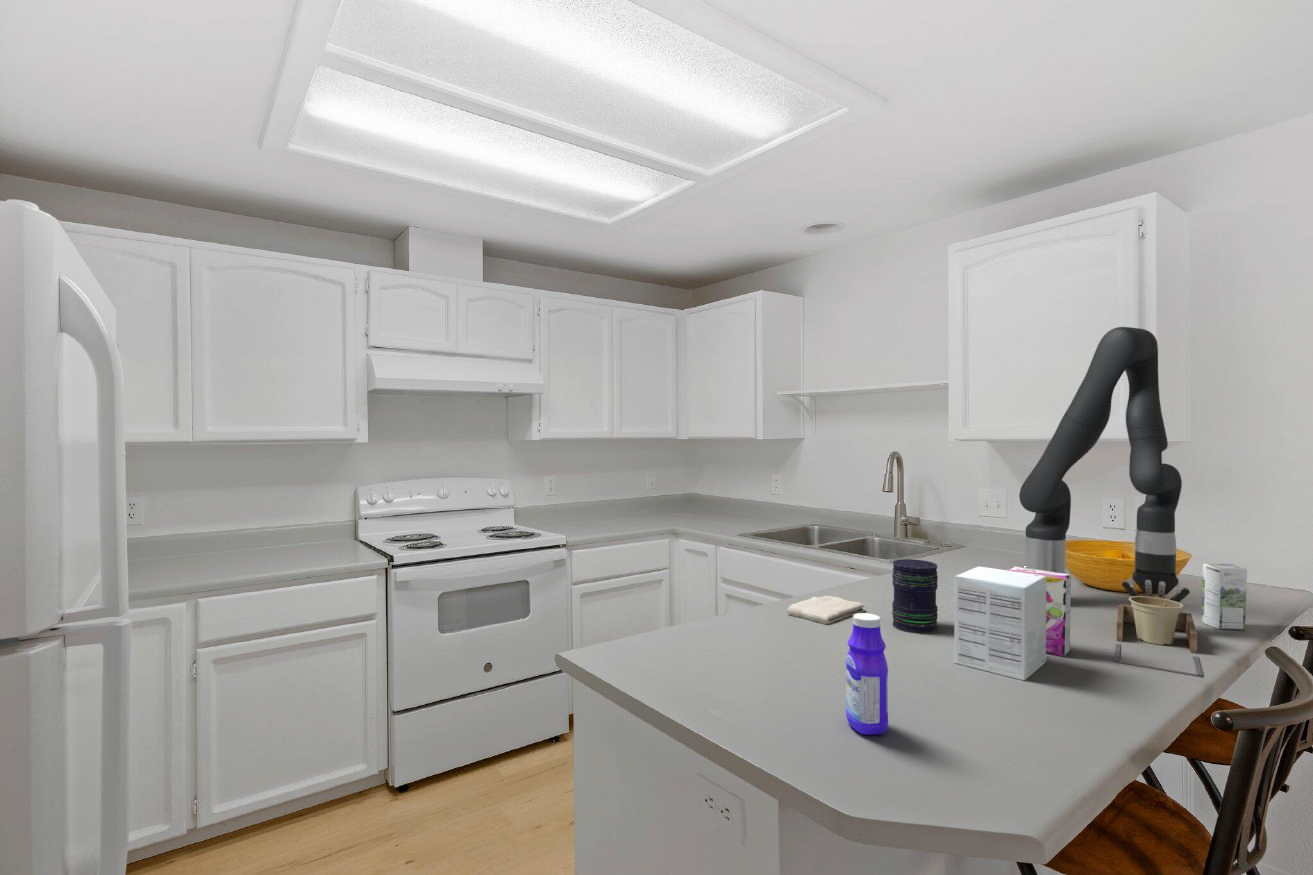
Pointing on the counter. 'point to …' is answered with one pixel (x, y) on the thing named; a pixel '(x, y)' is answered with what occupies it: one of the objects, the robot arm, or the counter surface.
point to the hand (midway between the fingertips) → (1154, 624)
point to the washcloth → (825, 609)
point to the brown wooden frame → (1182, 624)
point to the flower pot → (1155, 618)
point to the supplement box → (1000, 621)
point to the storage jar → (914, 596)
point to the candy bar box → (1055, 609)
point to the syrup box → (1224, 596)
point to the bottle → (867, 677)
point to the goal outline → (1196, 661)
